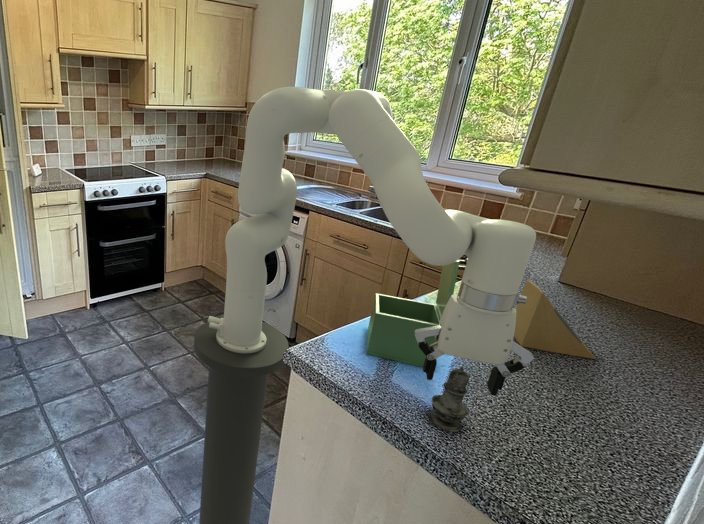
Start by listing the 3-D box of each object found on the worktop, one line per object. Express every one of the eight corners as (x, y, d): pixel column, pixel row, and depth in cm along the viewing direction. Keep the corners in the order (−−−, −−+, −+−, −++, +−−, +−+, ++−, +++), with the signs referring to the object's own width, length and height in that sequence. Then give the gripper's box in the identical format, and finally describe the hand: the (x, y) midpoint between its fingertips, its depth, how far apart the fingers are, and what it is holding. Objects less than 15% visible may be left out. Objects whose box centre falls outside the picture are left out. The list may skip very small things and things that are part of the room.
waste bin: (366, 353, 95) (375, 313, 91) (367, 330, 105) (375, 293, 101) (432, 369, 90) (444, 327, 86) (426, 343, 100) (437, 304, 96)
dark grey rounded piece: (469, 435, 72) (489, 379, 68) (433, 430, 73) (451, 374, 69) (455, 412, 78) (472, 359, 73) (422, 407, 78) (437, 355, 74)
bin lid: (455, 261, 82) (484, 264, 80) (446, 244, 92) (472, 246, 90) (442, 324, 86) (470, 328, 85) (435, 302, 96) (460, 305, 95)
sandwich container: (597, 360, 96) (623, 303, 91) (521, 346, 101) (542, 292, 95) (578, 341, 104) (600, 288, 99) (508, 329, 108) (526, 278, 103)
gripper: (542, 297, 66) (511, 384, 72) (423, 278, 72) (403, 359, 78) (561, 317, 60) (524, 411, 66) (428, 294, 66) (406, 382, 72)
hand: (459, 383), depth 72 cm, fingers open, 9 cm apart
